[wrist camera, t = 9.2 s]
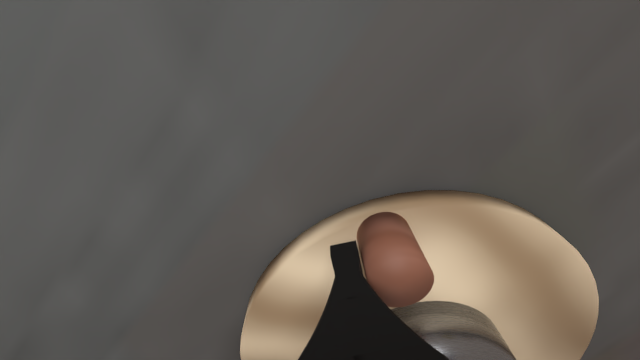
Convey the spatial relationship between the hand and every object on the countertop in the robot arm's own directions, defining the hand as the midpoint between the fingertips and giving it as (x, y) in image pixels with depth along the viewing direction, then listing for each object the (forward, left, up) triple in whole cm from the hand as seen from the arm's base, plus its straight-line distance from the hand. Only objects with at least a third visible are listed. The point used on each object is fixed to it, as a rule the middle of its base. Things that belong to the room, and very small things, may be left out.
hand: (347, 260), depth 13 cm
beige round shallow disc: (-7, -6, -3) cm, 10 cm away
